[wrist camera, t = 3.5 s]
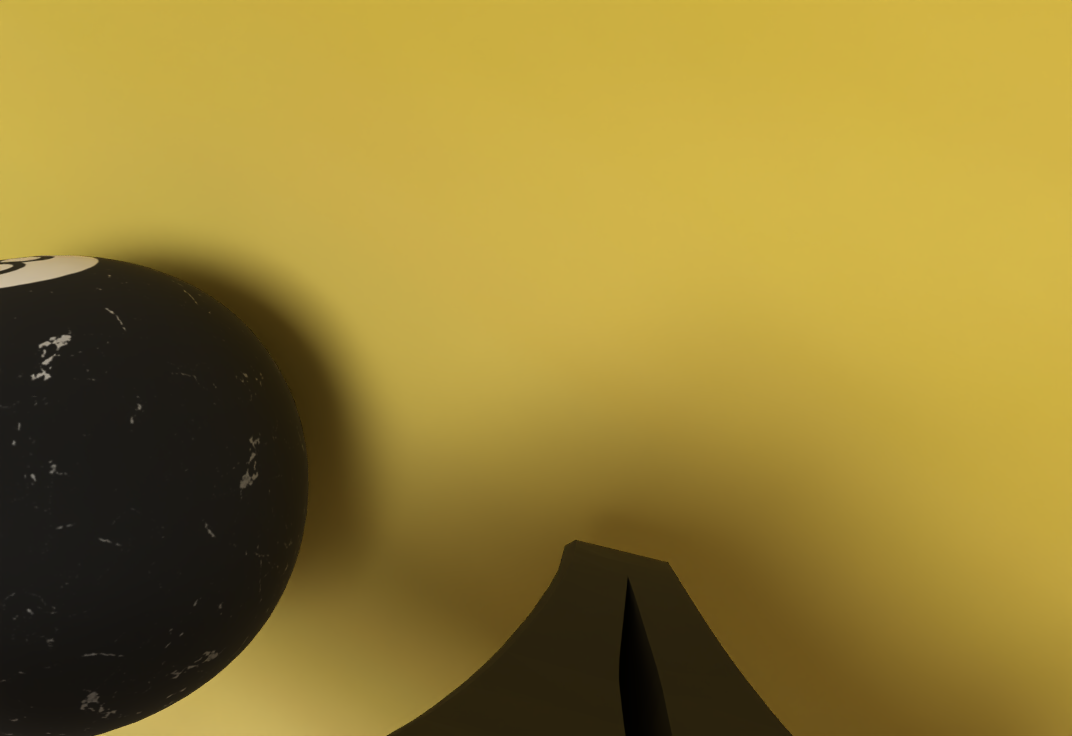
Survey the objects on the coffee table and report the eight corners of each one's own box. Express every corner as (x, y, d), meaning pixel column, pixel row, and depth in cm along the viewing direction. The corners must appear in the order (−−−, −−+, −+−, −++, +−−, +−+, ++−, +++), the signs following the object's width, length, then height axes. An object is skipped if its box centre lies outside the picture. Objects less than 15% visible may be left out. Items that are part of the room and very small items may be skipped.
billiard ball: (42, 574, 16) (-270, 857, 10) (-54, 231, 14) (-498, 350, 9) (380, 566, 15) (241, 863, 10) (327, 206, 14) (119, 317, 8)
